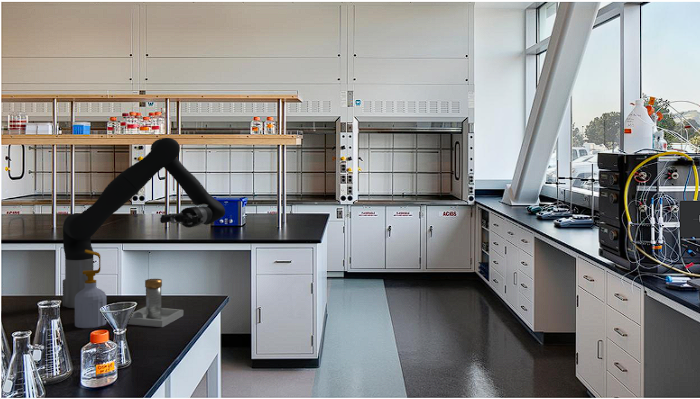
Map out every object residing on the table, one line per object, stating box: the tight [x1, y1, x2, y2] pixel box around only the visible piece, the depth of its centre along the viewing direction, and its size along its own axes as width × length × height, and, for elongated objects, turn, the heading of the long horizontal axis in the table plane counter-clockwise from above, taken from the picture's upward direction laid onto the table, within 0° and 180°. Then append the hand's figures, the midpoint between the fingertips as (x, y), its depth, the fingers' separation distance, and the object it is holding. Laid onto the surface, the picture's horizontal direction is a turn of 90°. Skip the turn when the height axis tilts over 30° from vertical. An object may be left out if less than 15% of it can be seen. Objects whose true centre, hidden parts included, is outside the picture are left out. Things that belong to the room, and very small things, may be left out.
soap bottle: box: [74, 250, 107, 329], centre depth 181 cm, size 9×9×25 cm
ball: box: [133, 312, 143, 318], centre depth 186 cm, size 3×3×3 cm
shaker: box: [144, 278, 163, 320], centre depth 188 cm, size 5×5×13 cm
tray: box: [127, 306, 184, 328], centre depth 188 cm, size 14×14×3 cm
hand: (172, 220), depth 203 cm, fingers open, 8 cm apart
